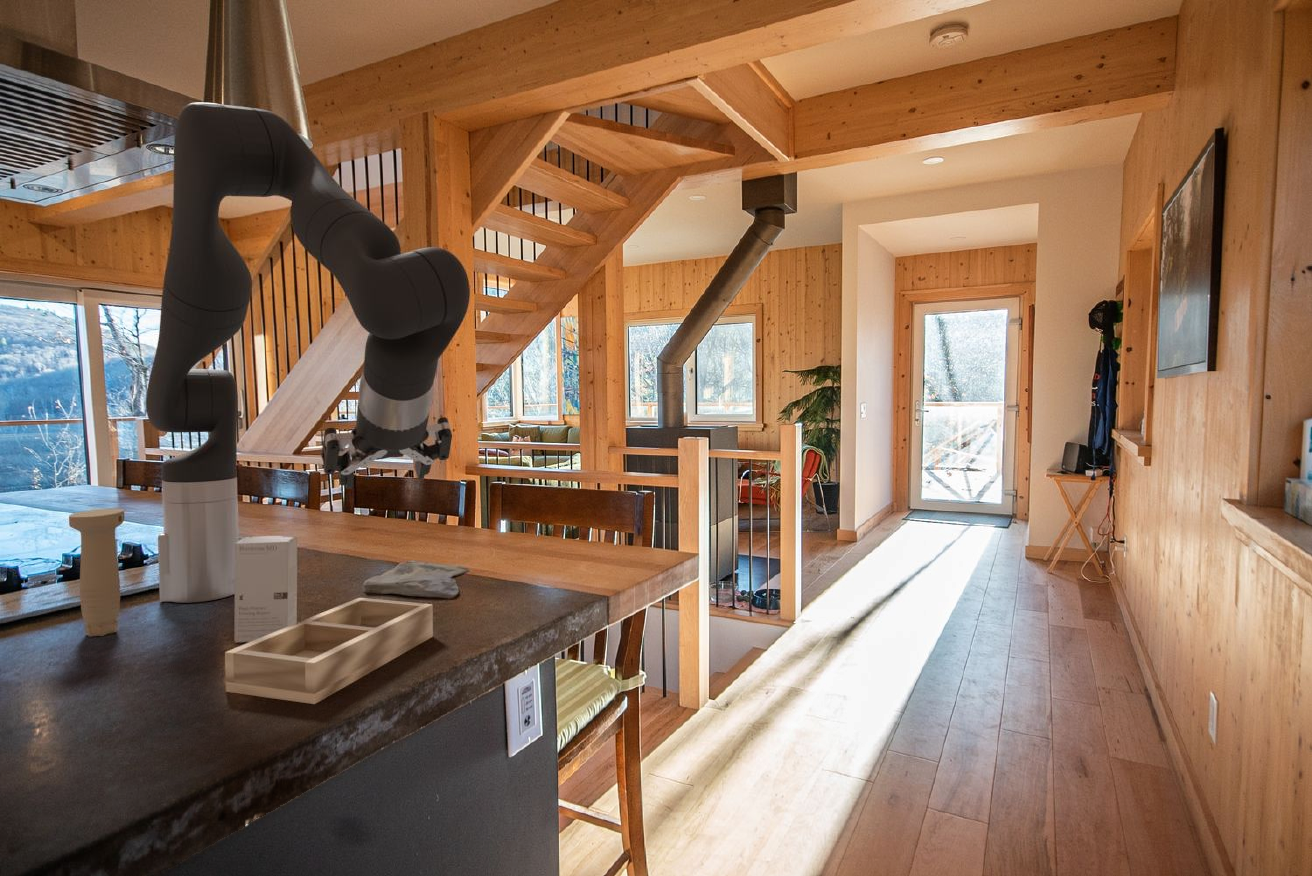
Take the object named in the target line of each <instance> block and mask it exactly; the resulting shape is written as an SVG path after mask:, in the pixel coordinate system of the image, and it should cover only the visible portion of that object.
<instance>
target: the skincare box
mask: <svg viewBox="0 0 1312 876" xmlns="http://www.w3.org/2000/svg"><path fill="white" fill-rule="evenodd" d="M297 601H298V536H297V535H262V536H261V535H259V536H255V535H254V536H245V537H243V538H241V539H240V540H239V541H238V542H237V543H235V594H234V634H233V635H234V637H233V638H234V643H235V644H236V643H249V642H251V641H254V640H256V639H259V638H261V637H264V636H266V635H268V634H271V633H273V632H276V631H278V630H281V629H283V628H286V627H288V626H291V625H293V624H296V623H298V621H297V619H298V618H297V614H298V613H297V612H298V611H297V610H298V607H297V605H298V603H297Z"/></svg>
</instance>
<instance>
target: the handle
mask: <svg viewBox="0 0 1312 876" xmlns="http://www.w3.org/2000/svg"><path fill="white" fill-rule="evenodd" d="M124 521H125V508H124V509H123V508H99V509H91V510H84V511H78V512H76V513H71V514H69V516H68V524H69V527H70V528H72V529H73V530H76V531H78V532H79V533H80V541H81V542H80V567H79V570H80V571H79V595H80V596H79V600H80V609H81V616H82V621H83V622H84V629H85V634H87V636H88V637H103V636H105V635H110V634H114V633H116V631H118V627H119V621H118V618H119V617H120V609H121V608H120V607H121V585H120V584H121V581H120V579H121V578H120V571H119V562H118V555H117V554H118V552H117V543H116V528H118V527H119V526H121V525H122V524H123V523H124Z"/></svg>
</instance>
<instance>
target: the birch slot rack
mask: <svg viewBox="0 0 1312 876" xmlns="http://www.w3.org/2000/svg"><path fill="white" fill-rule="evenodd" d="M433 608H434V607H433V604H432V603H430V604H429V603H420V602H411V601H409V602H408V601H400V600H398V601H397V600H389V599H378V598H368V597H358V598H355V599H353V600H350V601H347V602H344V603H343V604H339V605H337V606H335V607H333V608H331V609H328V610H326V611H323V612H321V613H317V614H316V615H313V616H310V617H309V618H306V619H304V620H301V621H297V623H296V624H293V625H291V626H288V627H286V628H283V629H281V630H278V631H276V632H273V633H271V634H268V635H266V636H264V637H261V638H259V639H256V640H254V641H251V642H245V643H244V644H241V645H239V646H236V647H234V648H232V649H229V650H227V651H225V652H224V665H225V667H224V668H225V692H226V693H234V694H241V695H246V696H252V697H253V696H256V697H262V698H266V699H267V698H268V699H275V700H276V699H277V700H283V701H290V702H296V703H297V702H298V703H303V704H304V703H305V704H311V705H316V704H317V703H320V702H321V701H323V700H325V699H326V698H329V697H330V696H331V695H333V694H336V693H337V692H338V691H340V690H342V689H344V688H346V687H348V686H349V685H350V684H352V683H355V682H356V681H358V680H360V679H361V678H363V677H365V676H367V675H369V674H370V673H371V672H373V671H375V670H378V669H379V668H380V667H382V666H384V665H386V664H387V663H389V662H391V661H393V660H394V659H397V658H398V657H400V656H401V655H404V654H405V653H406V652H409V651H410V650H412V649H414V648H415V647H417V646H419V645H420V644H422V643H424V642H426V641H428V640H429V639H431V638H433V637H434V624H433V622H434V620H433V619H434V615H433V614H434V613H433Z"/></svg>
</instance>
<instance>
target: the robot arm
mask: <svg viewBox="0 0 1312 876" xmlns="http://www.w3.org/2000/svg"><path fill="white" fill-rule="evenodd" d="M173 141H174V143H173V198H172V201H173V203H172V204H173V206H172V223H171V224H172V225H171V232H170V239H169V249H168V255H167V260H166V265H165V271H164V275H163V277H164V278H163V286H162V293H161V305H160V319H159V320H160V321H159V329H158V330H159V331H158V340H157V344H156V345H157V346H156V351H155V354H154V358H153V362H152V366H151V369H150V375H149V377H148V378H149V379H148V385H147V389H146V398H145V399H146V400H145V408H146V414H147V418H148V421H149V422H150V424H151V426H152V427H153V428H154V429H156V430H157V431H160V432H165V433H209V434H208V439H206V441H205V442H204V443H202V444H201V445H200V446H198V447H196V448H194V449H193V450H190V451H188V452H186V453H182V454H179V455H177V456H173V457H170V458H168V459H166V460H164V461H163V463H162V464H161V465H162V466H161V487H162V490H161V491H162V492H161V493H162V513H163V517H162V518H163V519H162V520H163V521H162V522H163V533H160V534H158V536H157V551H158V553H157V555H158V560H157V561H158V582H159V584H158V587H159V602H172V603H181V604H182V603H185V604H187V603H200V602H201V603H202V602H208V601H209V602H210V601H213V600H214V601H215V600H218V599H223V598H226V597H230V596H233V595H235V543H237V542H238V541H240V540H239V538H240V537H239V506H238V505H239V503H238V502H239V501H238V471H237V469H238V467H237V465H238V457H237V456H238V455H237V453H238V451H237V448H238V447H237V445H238V444H237V432H238V431H237V429H238V427H237V426H238V411H239V410H238V408H239V404H238V403H239V401H238V400H239V395H238V385H237V382H236V380H235V379H236V378H235V377H234V375H233V374H232V372H230V371H228V370H226V369H225V370H224V369H212V368H211V369H210V368H206V369H205V368H193V367H194V366H195V365H196V364H197V363H199V362H200V361H201V360H203V359H204V358H206V357H207V356H209V355H210V354H211V353H213V352H214V351H216V350H217V349H220V347H222V346H223V345H224V344H226V343H228V341H229V340H231V339H232V338H233V337H234V336H235V335H236V334H237V333H239V331H240V329H241V328H242V327H243V325H244V323H245V322H246V321H245V320H246V318H247V312H248V309H249V305H250V301H251V300H250V299H251V296H252V290H253V278H252V275H251V271H250V269H249V267H248V265H247V263H246V261H245V259H244V258H243V256H242V255H241V253H240V252H239V250H238V249H237V248H236V246H234V243H232V241H231V240H230V238H229V237H228V235H227V234H226V232H225V230H223V227H222V225H221V222H220V221H219V220H220V219H219V210H220V205H221V203H222V201H223V200H224V198H225V197H226V198H227V197H249V198H250V197H251V198H252V197H254V198H258V197H259V198H268V197H274V196H277V197H282V198H285V199H287V200H289V201H291V203H290V210H289V211H290V213H289V214H290V215H289V216H290V222H291V227H292V230H293V233H294V234H295V237H296V238H297V240H298V241H299V244H300V245H301V246H302V247H303V248H304V249H305V250H306V251H307V253H309V254H310V256H311V257H313V258H314V259H315V260H317V262H319V264H320V265H322V266H323V267H324V268H325V269H326V270H327V271H328V272H330V274H332V275H333V276H334V278H335V279H336V281H337V282H338V284H339V285H340V287H341V289H342V290H343V292H344V293H345V296H346V298H347V299H348V301H349V305H350V306H351V309H352V311H353V313H354V316H355V317H356V319H357V321H358V323H359V324H360V325H361V327H362V328H363V329H364V330H365V332H368V333H369V334H368V336H367V338H366V343H365V346H364V347H365V349H364V357H363V358H364V360H363V371H362V374H361V377H360V381H359V386H358V387H359V388H358V400H357V408H356V409H357V410H356V419H355V420H356V422H355V423H356V424H355V427H354V428H352V430H351V431H350V432H343V433H342V432H340V433H338V432H337V429H336V428H335V427H328V428H326V429H325V430H324V434H323V441H322V447H321V459H322V464H323V472H324V474H325V475H332V474H335V473H336V472H337V474H338V479H339V485H341V487H342V486H343V487H344V486H345V489H346V490H347V489H348V490H349V489H353V488H354V487H353V486H354V478H355V477H354V476H355V475H354V474H355V473H354V472H355V471H356V470H358V469H359V468H361V469H364V468H366V467H367V466H369V465H370V464H371V463H373V462H374V461H376V460H384V459H387V458H403V457H404V456H407V457H409V458H410V459H411V460H413V461H415V462H414V470H415V473H416V478H417V480H422V479H423V480H424V479H425V476H427V475H429V473H430V472H431V467H432V464H433V463H434V461H435V460H438V459H439V461H446V460H448V459H449V458H450V452H451V446H452V441H453V440H452V438H453V434H452V429H451V427H450V423H449V419H448V418H447V417H445V416H443V417H439V418H438V419H437V422H436V424H429V418H430V413H431V408H432V407H433V403H434V394H435V385H434V384H435V379H436V372H437V367H438V361H439V358H440V357H441V356H442V355H443V353H445V351H446V350H447V348H448V347H449V345H450V343H451V341H452V340H453V339H454V337H455V335H456V333H457V332H458V330H459V329H460V327H461V325H462V324H463V321H464V319H465V317H466V314H467V312H468V308H469V303H470V297H471V288H470V287H471V286H470V281H469V277H468V274H467V271H466V270H465V267H464V265H463V263H462V261H460V260H459V258H457V256H456V255H455V254H454V253H452V252H451V251H449V250H447V249H444V248H442V247H436V246H435V247H434V246H430V247H423V248H418V249H415V250H411V251H408V252H405V253H401V251H402V250H401V249H402V247H401V243H400V241H399V238H398V237H397V235H396V234H395V232H394V231H393V230H392V229H391V228H390V227H389V226H388V224H386V223H385V222H384V221H383V220H381V218H379V217H378V216H376V215H375V214H374V213H373V212H372V211H371V210H370V209H368V208H366V207H365V206H364V205H363V204H361V203H360V201H357V200H356V199H355V198H354V197H353V196H352V195H351V194H349V193H348V192H347V191H346V190H345V189H344V188H343V187H342V186H341V185H340V184H339V183H338V182H337V181H336V180H335V178H333V176H332V174H331V173H330V172H329V171H328V170H327V169H326V167H325V165H324V164H323V163H322V162H321V160H319V158H318V157H317V155H316V154H315V153H314V152H313V151H312V150H311V148H310V147H309V146H308V145H307V143H306V142H305V141H304V140H303V139H302V137H301V136H300V135H299V134H298V132H297V131H296V130H295V129H294V128H293V127H292V125H290V123H288V121H286V120H285V119H284V118H283V117H281V116H280V115H278V114H277V113H276V112H273V111H270V110H267V109H263V108H262V109H261V108H256V107H249V106H247V107H246V106H240V105H230V104H220V103H216V102H214V103H213V102H197V101H196V102H191V103H189V104H186V105H185V106H183V108H182V109H181V111H180V112H179V114H178V118H177V121H176V126H175V132H174V139H173ZM429 437H432V439H433V440H434V444H431V445H430V444H429V443H428V442H426V441H427V440H428V438H429ZM346 446H347V448H346Z"/></svg>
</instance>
